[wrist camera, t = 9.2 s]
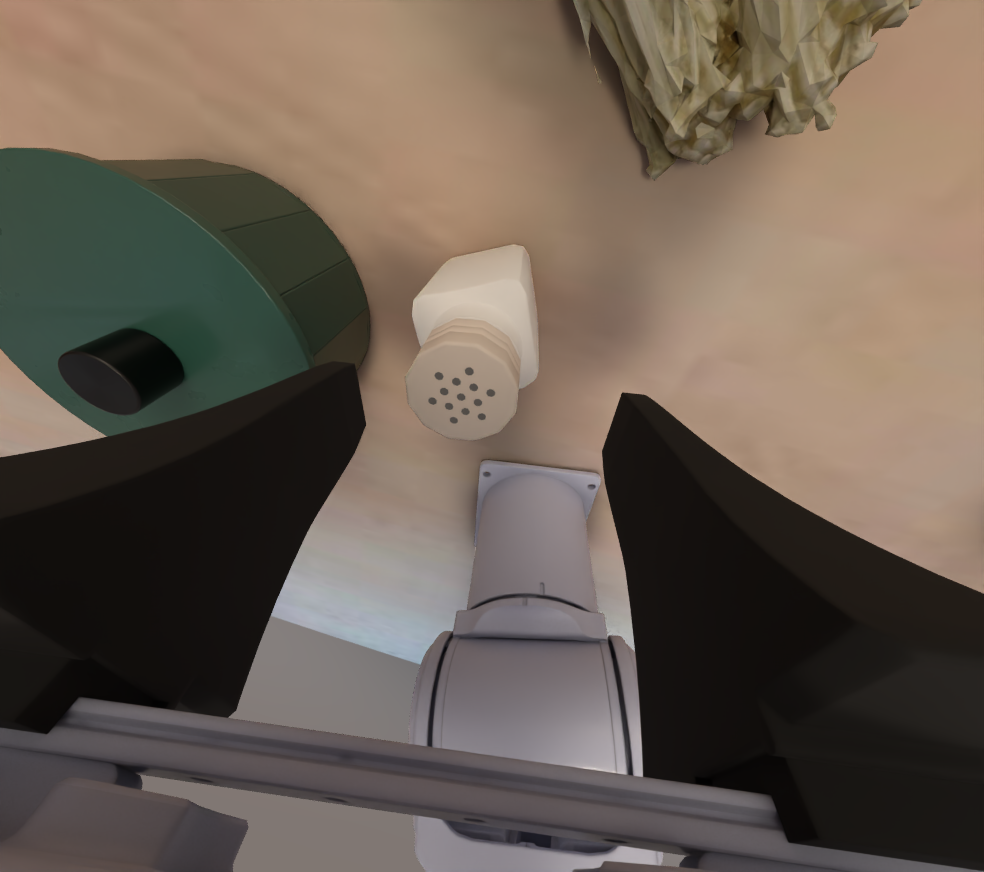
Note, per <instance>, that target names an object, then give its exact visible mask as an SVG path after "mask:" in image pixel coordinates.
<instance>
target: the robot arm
mask: <svg viewBox="0 0 984 872" xmlns="http://www.w3.org/2000/svg"><path fill="white" fill-rule="evenodd" d="M365 426H366V421H365V416H364V410H363V405H362V399H361V394H360V388H359V382H358V377H357V371H356V366H355V363H346V362H337V361H332V362H328V363H325V364H322V365H319V366H316V367H313V368H311V369H308V370H306V371H303V372H301V373H298V374H296V375H294V376H291V377H289V378H286V379H284V380H282V381H279V382H277V383H274V384H272V385H270V386H267V387H265V388H262V389H260V390H257V391H255V392H252V393H249V394H247V395H244V396H242V397H239V398H236V399H234V400H231V401H228V402H226V403H223V404H221V405H218V406H215V407H212V408H209V409H206V410H203V411H200V412H197V413H194V414H191V415H187V416H184V417H181V418H177V419H174V420H171V421H167V422H164V423H160V424H157V425H153V426H149V427H145V428H141V429H137V430H133V431H128V432H124V433H120V434H116V435H112V436H108V437H104V438H100V439H95V440H91V441H86V442H81V443H76V444H71V445H66V446H61V447H56V448H51V449H46V450H40V451H35V452H29V453H24V454H18V455H13V456H6V457H0V872H233V863H234V860H235V858H236V855H237V853H238V851H239V848H240V846H241V844H242V841H243V839H244V837H245V834H246V832H247V830H248V823H247V820H244V819H240V818H236V817H233V816H229V815H225V814H222V813H218V812H215V811H212V810H210V809H206V808H204V807H201V806H199V805H197V804H195V803H193V802H191V801H189V800H187V799H182V798H178V797H173V796H168V795H163V794H158V793H153V792H148V791H143V790H141V789H142V779H141V776H140V775H146V776H154V777H160V778H167V779H174V780H180V781H187V782H194V783H201V784H207V785H214V786H221V787H228V788H234V789H241V790H248V791H254V792H261V793H268V794H275V795H281V796H288V797H295V798H301V799H309V800H315V801H322V802H328V803H336V804H342V805H348V806H356V807H362V808H369V809H375V810H382V811H389V812H396V813H403V814H409V815H414V816H413V827H414V831H415V833H416V834H415V849H414V851H415V854H416V856H417V859H418V860H419V862H420V863H421V865H422V866H423V868H424V869H425V871H426V872H984V594H983V593H981V592H978V591H976V590H973V589H971V588H969V587H966V586H964V585H962V584H959V583H957V582H954V581H952V580H950V579H947V578H945V577H942V576H940V575H938V574H936V573H933V572H931V571H929V570H927V569H925V568H922V567H920V566H918V565H916V564H914V563H912V562H910V561H907V560H905V559H903V558H901V557H899V556H897V555H895V554H892V553H890V552H888V551H886V550H884V549H882V548H880V547H878V546H876V545H874V544H872V543H870V542H868V541H866V540H864V539H862V538H860V537H858V536H856V535H854V534H852V533H850V532H848V531H846V530H844V529H842V528H840V527H838V526H836V525H834V524H833V523H831V522H829V521H827V520H825V519H823V518H821V517H820V516H818V515H816V514H814V513H812V512H810V511H809V510H807V509H805V508H803V507H801V506H800V505H798V504H796V503H795V502H793V501H791V500H789V499H788V498H786V497H784V496H783V495H781V494H780V493H778V492H776V491H775V490H773V489H772V488H770V487H768V486H767V485H765V484H764V483H762V482H760V481H759V480H757V479H756V478H754V477H753V476H751V475H750V474H748V473H747V472H745V471H744V470H742V469H741V468H739V467H738V466H737V465H735V464H734V463H732V462H731V461H730V460H728V459H727V458H726V457H724V456H723V455H721V454H720V453H719V452H717V451H716V450H715V449H713V448H712V447H711V446H709V445H708V444H707V443H706V442H704V441H703V440H702V439H701V438H699V437H698V436H697V435H696V434H694V433H693V432H692V431H691V430H689V429H688V428H687V427H686V426H684V425H683V424H682V423H681V422H680V421H678V420H677V419H676V418H675V417H674V416H672V415H671V414H670V413H669V412H668V411H666V410H665V409H664V408H663V407H661V406H660V405H659V404H658V403H656V402H655V401H654V400H652V399H651V398H649V397H648V396H646V395H641V394H632V393H622V394H621V397H620V400H619V403H618V406H617V409H616V412H615V415H614V418H613V421H612V424H611V427H610V430H609V433H608V435H607V438H606V441H605V444H604V447H603V450H602V457H603V470H604V479H605V485H606V490H607V494H608V498H609V502H610V507H611V511H612V515H613V519H614V523H615V527H616V531H617V535H618V539H619V543H620V547H621V551H622V555H623V560H624V566H625V571H626V578H627V585H628V593H629V601H630V608H631V617H632V627H633V636H634V645H635V652H634V651H633V650H632V649H631V648H630V647H629V646H628V645H627V644H626V643H625V641H624V639H623V638H622V637H620V636H612V635H609V636H608V638H607V631H606V624H605V618H604V614H602V613H598V608H597V600H596V593H595V586H594V579H593V571H592V564H591V557H590V550H589V542H588V535H587V528H586V521H587V518H588V515H589V513H590V510H591V507H592V505H593V502H594V499H595V497H596V494H597V491H598V489H599V486H600V483H601V477H600V475H599V474H597V473H593V472H585V471H576V470H568V469H560V468H551V467H543V466H534V465H526V464H518V463H509V462H501V461H493V460H484V461H482V462H481V464H480V471H479V485H478V499H477V512H476V526H475V539H474V546H475V547H476V551H475V558H474V564H473V571H472V578H471V584H470V591H469V598H468V604H467V610H461V611H457V612H456V618H455V624H454V630H453V631H444V632H442V633H441V634H440V635H439V636H438V637H437V638H436V640H435V641H434V643H433V644H432V645H431V646H430V647H429V649H428V650H427V652H426V654H425V656H424V658H423V660H422V663H421V665H420V668H419V672H418V675H417V679H416V683H415V687H414V692H413V697H412V704H411V711H410V721H409V744H407V743H400V742H392V741H386V740H379V739H372V738H365V737H358V736H351V735H344V734H337V733H330V732H322V731H316V730H309V729H302V728H294V727H287V726H280V725H273V724H267V723H259V722H252V721H245V720H238V719H231V718H228V717H229V716H230V715H231V714H232V713H234V712H235V711H236V709H237V706H238V703H239V700H240V697H241V694H242V691H243V688H244V685H245V683H246V680H247V677H248V674H249V671H250V669H251V666H252V663H253V660H254V657H255V655H256V652H257V649H258V646H259V643H260V641H261V638H262V636H263V633H264V631H265V628H266V625H267V623H268V621H269V618H270V616H271V613H272V611H273V608H274V605H275V603H276V600H277V598H278V596H279V594H280V591H281V589H282V587H283V584H284V582H285V580H286V577H287V575H288V573H289V570H290V568H291V566H292V564H293V561H294V559H295V557H296V555H297V553H298V551H299V549H300V547H301V544H302V542H303V540H304V538H305V536H306V534H307V532H308V530H309V528H310V526H311V524H312V523H313V521H314V519H315V517H316V516H317V514H318V512H319V511H320V509H321V507H322V506H323V504H324V503H325V501H326V499H327V498H328V496H329V494H330V493H331V491H332V490H333V488H334V486H335V485H336V483H337V481H338V480H339V478H340V477H341V475H342V473H343V472H344V470H345V468H346V467H347V465H348V463H349V462H350V460H351V458H352V456H353V455H354V453H355V451H356V448H357V446H358V444H359V441H360V439H361V436H362V434H363V431H364V429H365ZM485 472H489V473H485ZM590 484H593V485H592V486H589V485H590ZM138 774H140V775H138ZM663 852H665V853H672V854H679V855H685V856H686V857H685V858H684V859H683V860H682V862H681V863H680V866H679V867H671V866H660V865H661V863H662V861H663Z"/></svg>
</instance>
